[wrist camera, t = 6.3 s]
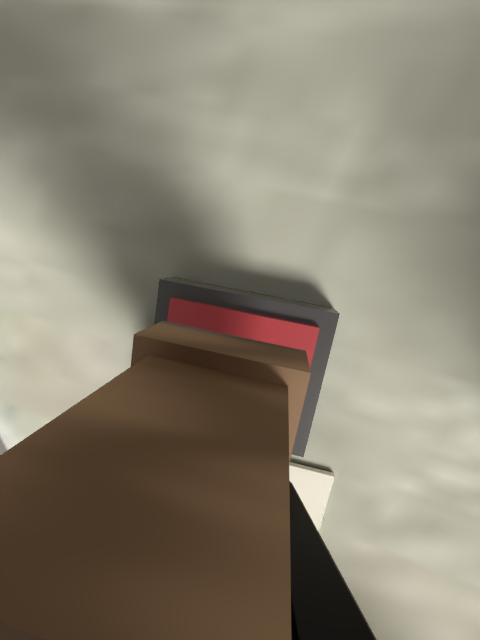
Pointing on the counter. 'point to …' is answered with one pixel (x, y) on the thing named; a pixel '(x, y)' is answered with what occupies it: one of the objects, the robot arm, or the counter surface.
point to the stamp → (158, 499)
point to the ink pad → (256, 327)
